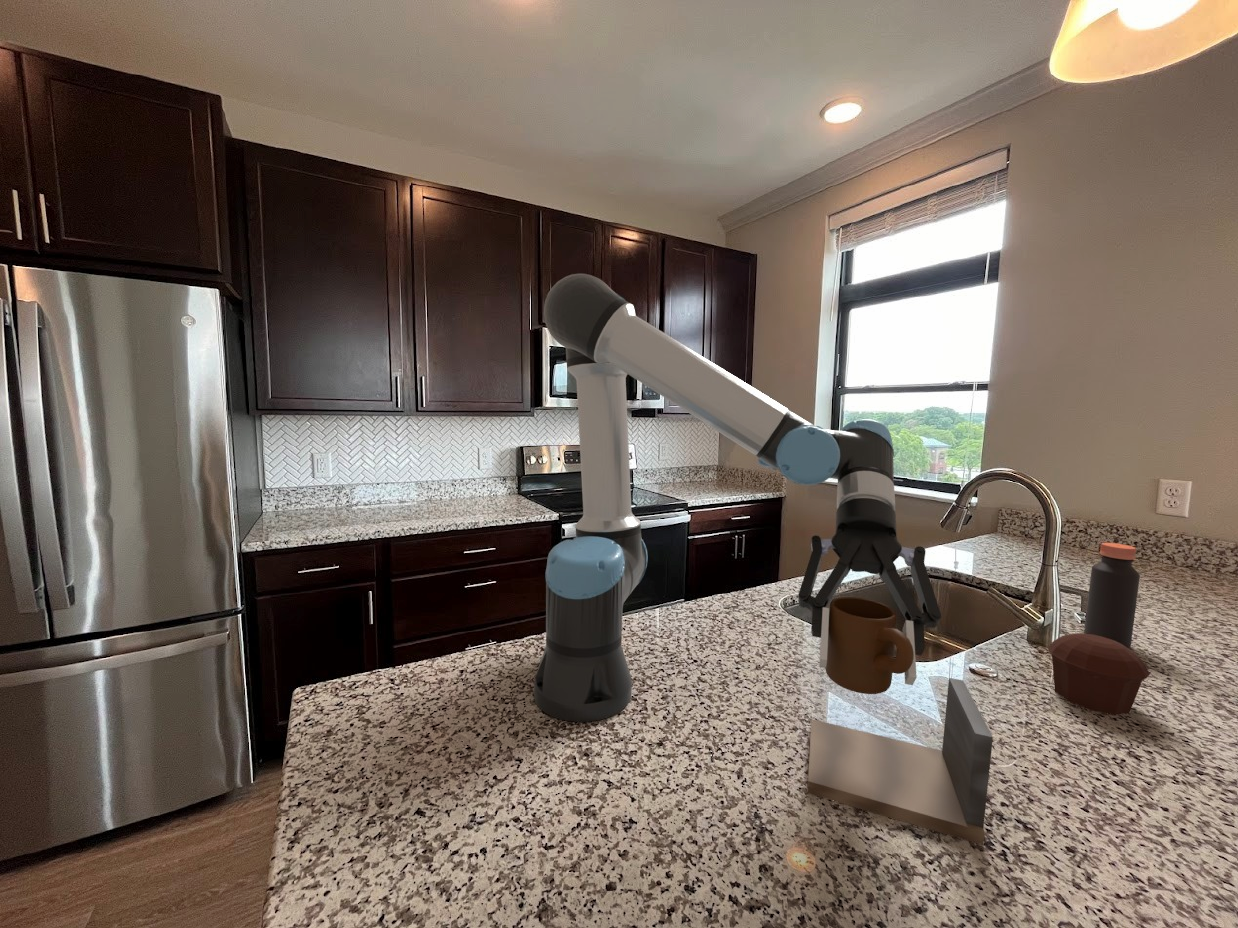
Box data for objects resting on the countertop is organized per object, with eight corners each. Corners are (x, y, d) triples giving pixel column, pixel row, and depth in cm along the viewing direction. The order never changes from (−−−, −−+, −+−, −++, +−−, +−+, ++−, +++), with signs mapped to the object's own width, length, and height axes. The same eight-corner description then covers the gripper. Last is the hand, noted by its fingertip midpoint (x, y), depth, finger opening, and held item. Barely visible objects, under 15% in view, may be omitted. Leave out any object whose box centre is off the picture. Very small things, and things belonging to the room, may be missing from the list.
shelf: (807, 793, 58) (813, 699, 56) (810, 729, 69) (816, 650, 68) (983, 845, 51) (994, 740, 50) (953, 764, 63) (962, 678, 62)
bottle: (1124, 641, 101) (1136, 544, 99) (1135, 654, 95) (1148, 552, 93) (1079, 632, 104) (1090, 539, 102) (1088, 644, 99) (1099, 546, 97)
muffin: (1040, 698, 79) (1047, 637, 78) (1044, 672, 87) (1050, 617, 86) (1149, 731, 71) (1158, 664, 70) (1141, 700, 79) (1149, 640, 78)
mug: (935, 716, 55) (943, 635, 54) (874, 722, 54) (880, 639, 53) (864, 662, 67) (869, 594, 66) (812, 666, 65) (817, 597, 64)
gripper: (947, 533, 69) (966, 703, 56) (787, 518, 77) (771, 664, 64) (959, 501, 63) (985, 681, 50) (786, 489, 72) (768, 641, 58)
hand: (865, 671), depth 57 cm, fingers closed on mug, 8 cm apart
